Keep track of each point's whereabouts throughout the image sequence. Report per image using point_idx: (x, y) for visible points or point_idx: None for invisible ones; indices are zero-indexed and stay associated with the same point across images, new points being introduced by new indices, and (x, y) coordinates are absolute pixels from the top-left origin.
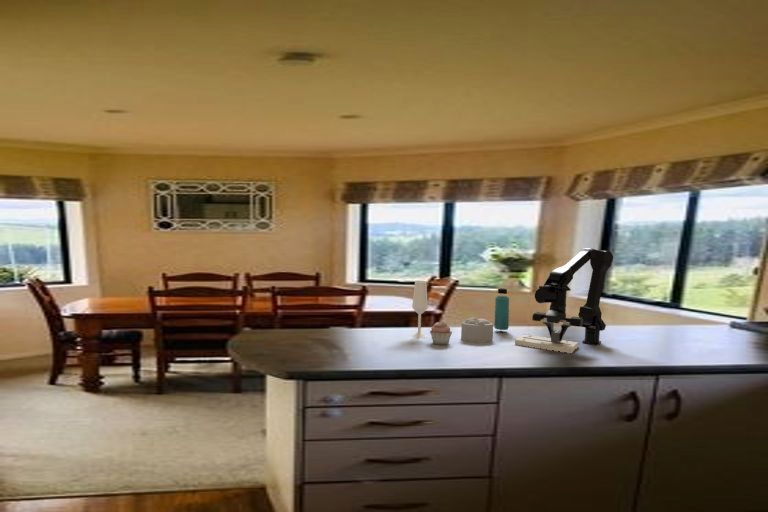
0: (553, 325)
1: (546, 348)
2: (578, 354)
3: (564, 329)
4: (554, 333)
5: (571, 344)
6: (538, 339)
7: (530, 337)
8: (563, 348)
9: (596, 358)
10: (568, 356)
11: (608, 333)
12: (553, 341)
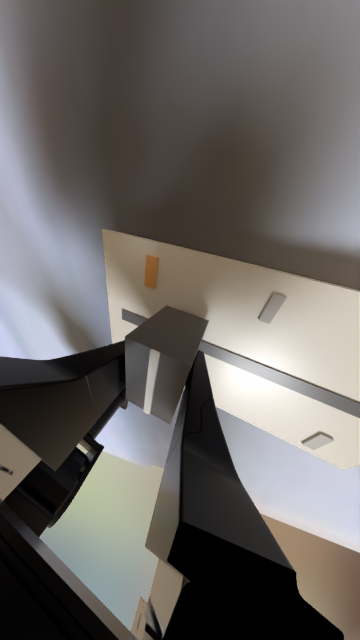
0: (163, 474)
1: (243, 262)
2: (99, 238)
3: (59, 362)
4: (165, 347)
5: (122, 321)
6: (280, 381)
7: (325, 420)
8: (142, 238)
9: (41, 204)
10: (120, 144)
11: (110, 435)
12: (192, 317)
